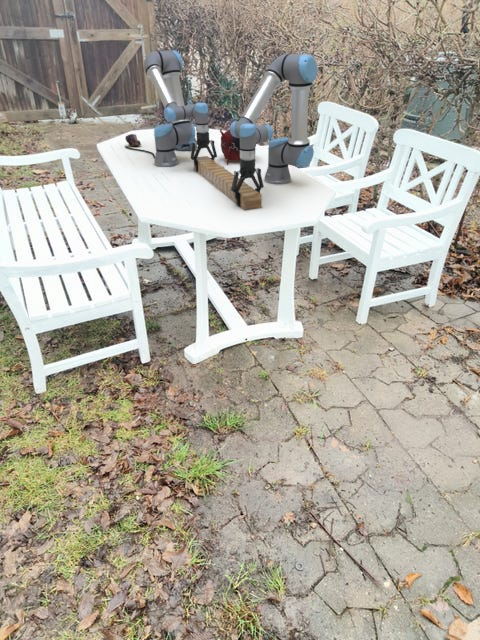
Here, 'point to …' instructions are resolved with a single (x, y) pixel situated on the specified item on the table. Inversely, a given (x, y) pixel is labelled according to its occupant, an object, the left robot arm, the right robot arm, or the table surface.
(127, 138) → the rock
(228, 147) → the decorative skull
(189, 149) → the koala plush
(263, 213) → the table surface
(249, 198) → the long beam
